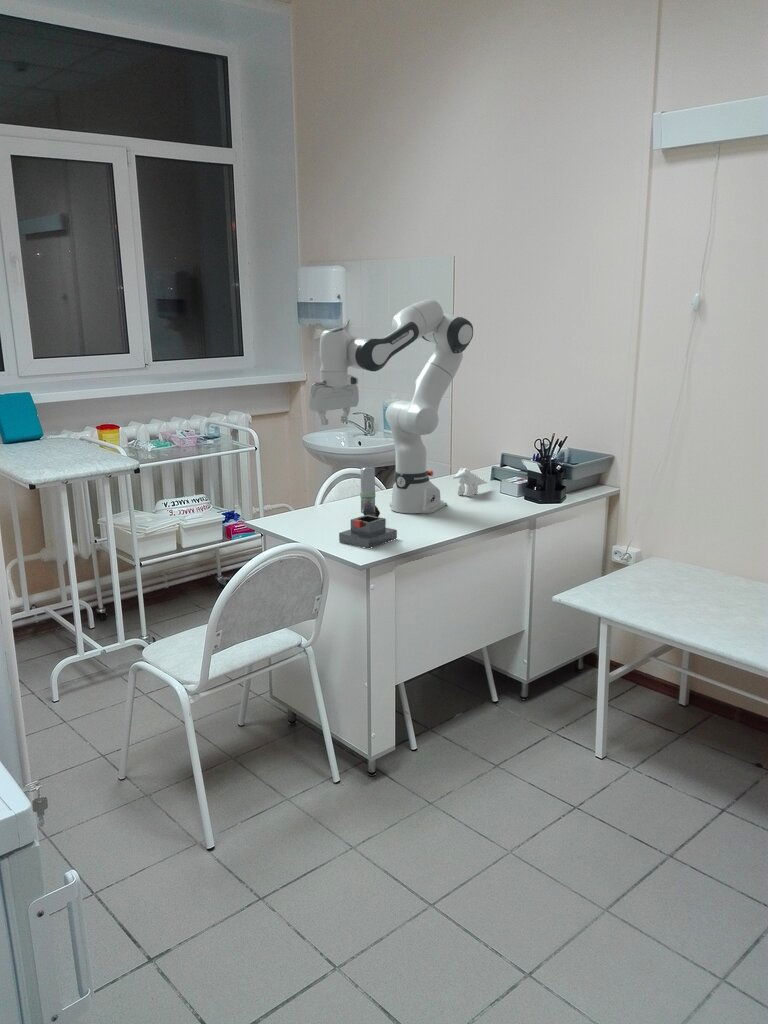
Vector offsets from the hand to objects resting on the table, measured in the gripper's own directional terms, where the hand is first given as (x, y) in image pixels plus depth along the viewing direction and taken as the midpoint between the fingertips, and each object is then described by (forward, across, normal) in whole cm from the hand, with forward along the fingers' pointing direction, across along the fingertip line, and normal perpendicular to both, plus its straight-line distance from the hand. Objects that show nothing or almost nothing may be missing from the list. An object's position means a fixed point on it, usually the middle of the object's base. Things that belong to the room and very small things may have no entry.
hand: (334, 423), depth 264 cm
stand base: (+35, -5, -18) cm, 40 cm away
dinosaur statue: (+35, +70, -8) cm, 79 cm away
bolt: (+36, +11, -6) cm, 38 cm away
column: (+26, -5, -18) cm, 32 cm away
